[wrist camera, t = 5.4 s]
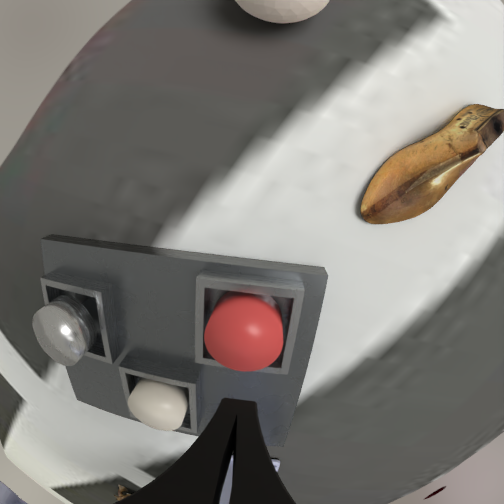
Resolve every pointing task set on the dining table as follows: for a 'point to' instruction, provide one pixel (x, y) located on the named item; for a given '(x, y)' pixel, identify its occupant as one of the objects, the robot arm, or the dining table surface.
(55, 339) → the steel button
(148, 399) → the ivory button
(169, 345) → the slate panel
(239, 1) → the egg
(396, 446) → the dining table surface
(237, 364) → the red button
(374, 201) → the shoe last
